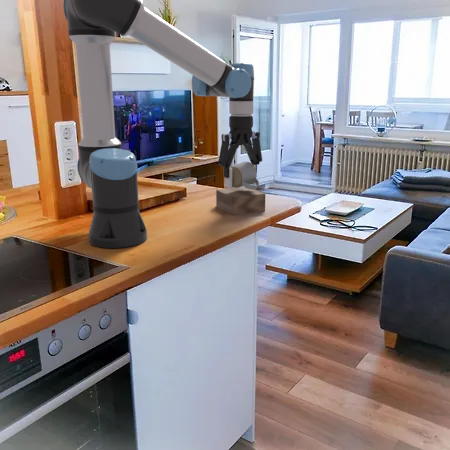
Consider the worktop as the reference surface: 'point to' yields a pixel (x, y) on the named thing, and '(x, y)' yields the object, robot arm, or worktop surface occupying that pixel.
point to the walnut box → (240, 200)
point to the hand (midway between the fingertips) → (240, 185)
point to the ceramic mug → (244, 175)
